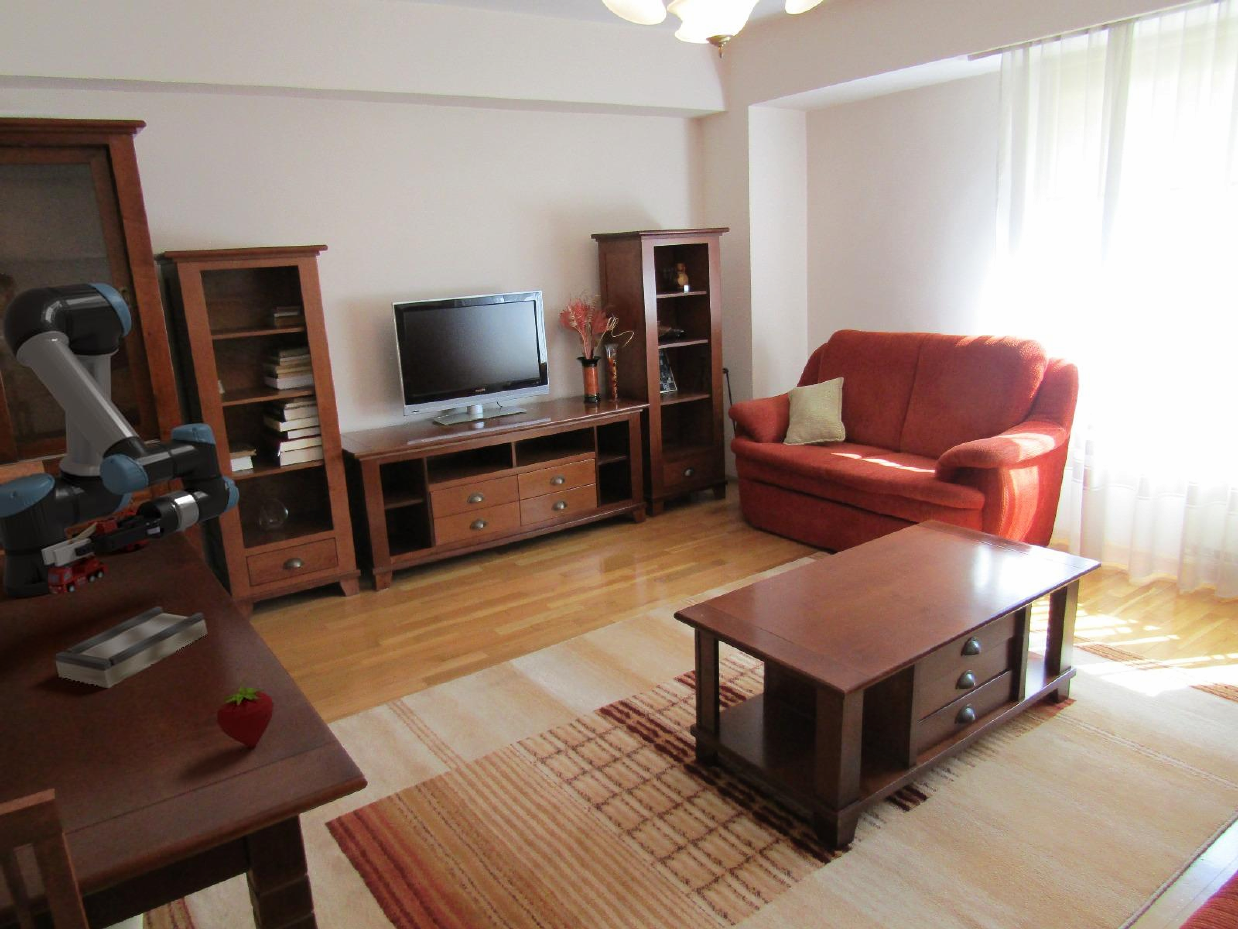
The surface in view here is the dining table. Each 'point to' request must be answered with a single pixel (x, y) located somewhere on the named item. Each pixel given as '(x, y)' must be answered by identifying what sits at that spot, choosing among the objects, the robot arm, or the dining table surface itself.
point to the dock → (129, 647)
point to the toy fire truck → (81, 563)
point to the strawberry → (246, 715)
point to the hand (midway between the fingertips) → (50, 558)
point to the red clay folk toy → (135, 545)
